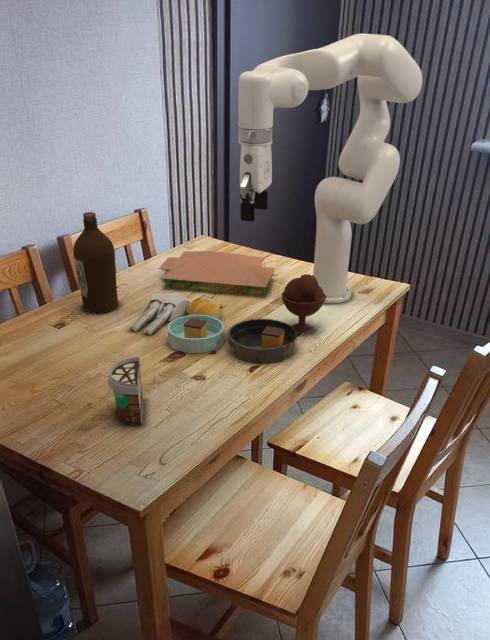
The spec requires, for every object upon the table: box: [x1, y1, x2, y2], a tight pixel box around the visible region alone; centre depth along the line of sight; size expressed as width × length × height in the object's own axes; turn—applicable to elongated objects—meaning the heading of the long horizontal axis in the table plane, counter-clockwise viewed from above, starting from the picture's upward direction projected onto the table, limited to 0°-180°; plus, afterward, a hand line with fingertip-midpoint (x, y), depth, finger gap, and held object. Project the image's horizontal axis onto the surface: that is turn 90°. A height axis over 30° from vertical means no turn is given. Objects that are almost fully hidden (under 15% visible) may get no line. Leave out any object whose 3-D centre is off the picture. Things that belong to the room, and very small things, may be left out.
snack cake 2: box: [261, 326, 284, 349], centre depth 160 cm, size 4×4×5 cm
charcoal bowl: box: [227, 318, 298, 365], centre depth 161 cm, size 17×17×4 cm
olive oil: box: [72, 211, 119, 314], centre depth 176 cm, size 11×11×25 cm
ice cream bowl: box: [280, 273, 326, 334], centre depth 167 cm, size 11×11×15 cm
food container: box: [107, 356, 144, 426], centre depth 136 cm, size 12×6×10 cm, turn 5°
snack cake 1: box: [184, 318, 207, 339], centre depth 164 cm, size 4×4×5 cm
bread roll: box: [186, 298, 222, 319], centre depth 177 cm, size 8×9×4 cm
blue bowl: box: [166, 314, 225, 354], centre depth 164 cm, size 14×14×4 cm
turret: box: [128, 292, 191, 336], centre depth 175 cm, size 10×20×5 cm, turn 153°
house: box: [158, 250, 275, 298], centre depth 197 cm, size 23×33×8 cm
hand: (254, 214), depth 157 cm, fingers open, 9 cm apart
